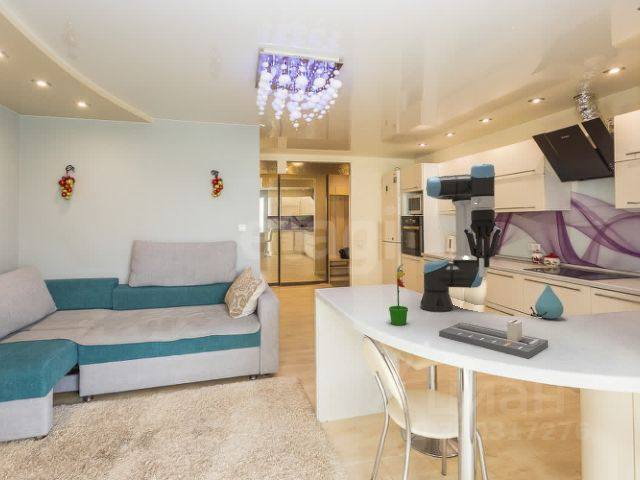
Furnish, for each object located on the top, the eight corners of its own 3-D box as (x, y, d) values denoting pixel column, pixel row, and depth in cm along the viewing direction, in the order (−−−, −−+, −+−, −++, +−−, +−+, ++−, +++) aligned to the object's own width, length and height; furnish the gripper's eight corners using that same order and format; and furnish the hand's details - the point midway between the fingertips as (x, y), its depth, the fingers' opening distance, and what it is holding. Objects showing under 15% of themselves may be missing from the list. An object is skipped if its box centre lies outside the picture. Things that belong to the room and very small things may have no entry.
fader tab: (512, 337, 118) (512, 319, 118) (522, 339, 116) (521, 320, 115) (507, 340, 116) (507, 321, 115) (516, 342, 113) (516, 323, 113)
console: (462, 327, 139) (462, 319, 138) (547, 346, 115) (547, 336, 115) (439, 336, 129) (439, 327, 128) (528, 358, 105) (528, 348, 105)
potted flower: (408, 326, 141) (407, 265, 141) (389, 326, 143) (387, 265, 142) (407, 320, 151) (406, 262, 150) (389, 320, 152) (388, 262, 151)
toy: (536, 312, 159) (536, 279, 158) (567, 316, 151) (567, 281, 150) (527, 318, 149) (527, 283, 148) (559, 323, 140) (559, 286, 140)
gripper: (459, 210, 125) (460, 275, 126) (496, 208, 115) (497, 279, 116) (470, 210, 130) (470, 273, 131) (506, 208, 120) (507, 277, 121)
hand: (483, 276), depth 123 cm, fingers closed
